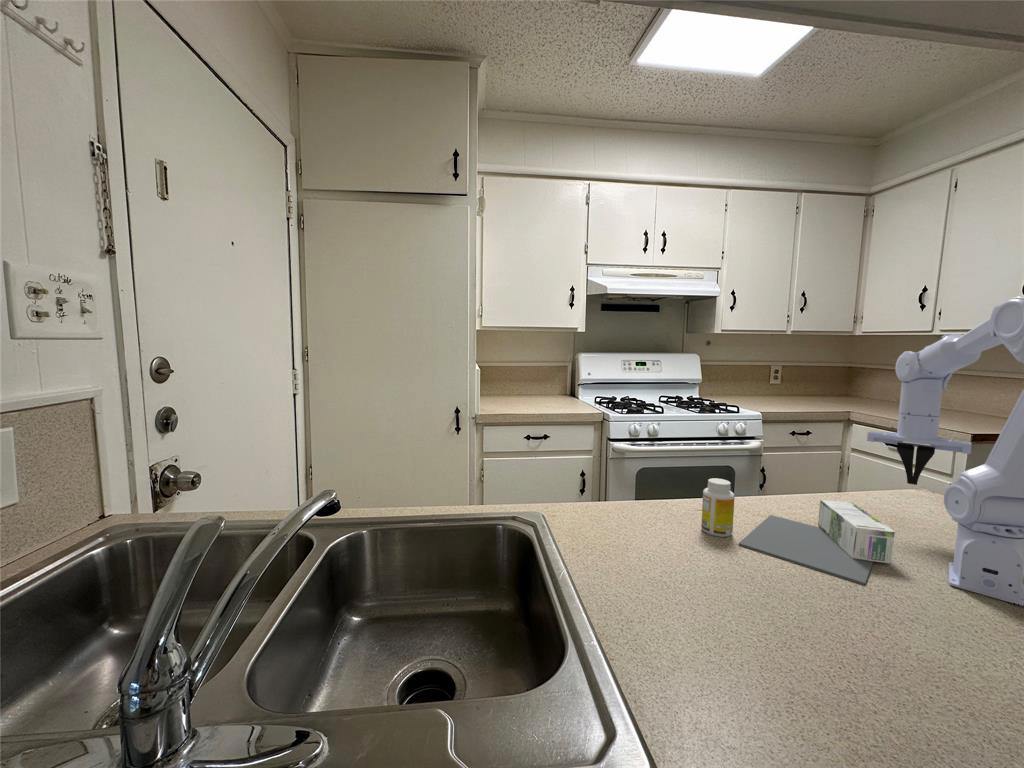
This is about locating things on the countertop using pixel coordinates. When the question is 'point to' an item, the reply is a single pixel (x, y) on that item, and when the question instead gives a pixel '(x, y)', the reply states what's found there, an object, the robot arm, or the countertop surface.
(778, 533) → the mat
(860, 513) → the syrup box
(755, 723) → the countertop surface
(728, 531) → the supplement bottle
